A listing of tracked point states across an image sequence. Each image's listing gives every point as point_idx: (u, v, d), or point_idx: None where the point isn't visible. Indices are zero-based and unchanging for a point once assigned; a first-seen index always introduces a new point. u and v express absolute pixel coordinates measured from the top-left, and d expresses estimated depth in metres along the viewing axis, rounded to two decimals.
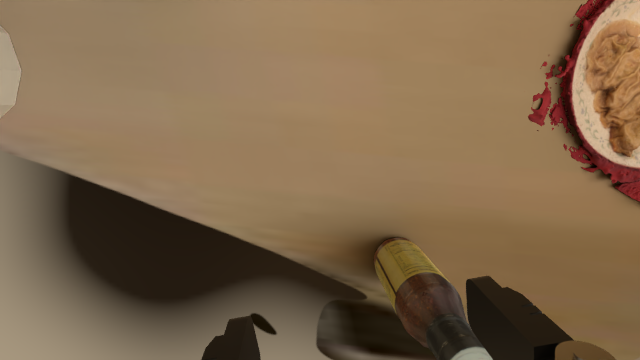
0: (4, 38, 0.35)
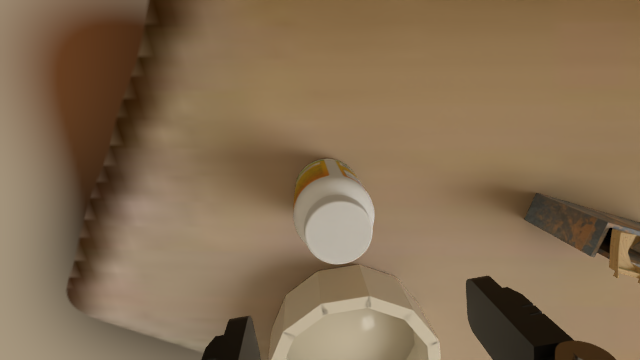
0: None
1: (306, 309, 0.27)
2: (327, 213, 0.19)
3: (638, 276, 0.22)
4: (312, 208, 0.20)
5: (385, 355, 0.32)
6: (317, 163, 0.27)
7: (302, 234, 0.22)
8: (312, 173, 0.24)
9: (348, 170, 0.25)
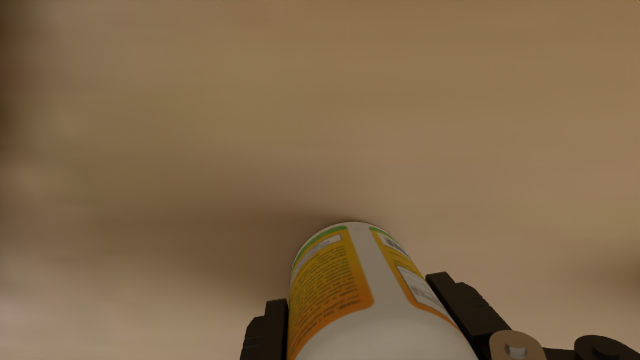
0: None
1: None
2: None
3: None
4: None
5: None
6: (335, 237, 0.13)
7: None
8: (328, 275, 0.11)
9: (403, 260, 0.12)
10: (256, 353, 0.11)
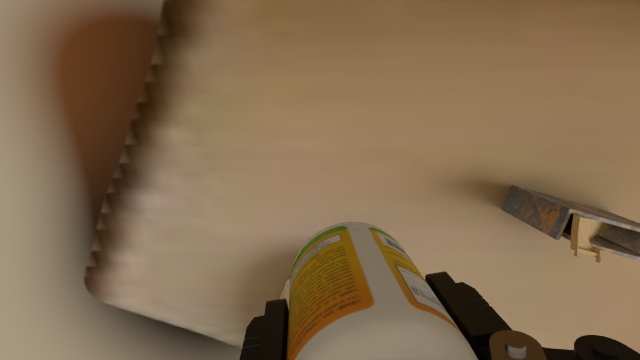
0: None
1: None
2: None
3: (596, 255, 0.25)
4: None
5: None
6: (335, 237, 0.13)
7: None
8: (328, 276, 0.11)
9: (403, 260, 0.12)
10: (256, 353, 0.11)
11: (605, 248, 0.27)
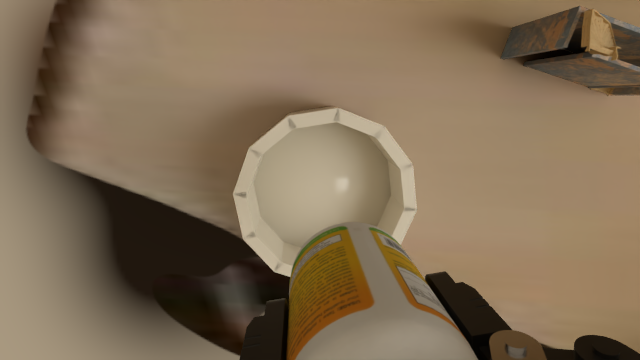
0: None
1: (273, 127, 0.26)
2: None
3: (611, 53, 0.21)
4: None
5: (361, 207, 0.31)
6: (335, 237, 0.13)
7: None
8: (328, 276, 0.11)
9: (403, 261, 0.12)
10: (256, 353, 0.11)
11: (621, 62, 0.23)
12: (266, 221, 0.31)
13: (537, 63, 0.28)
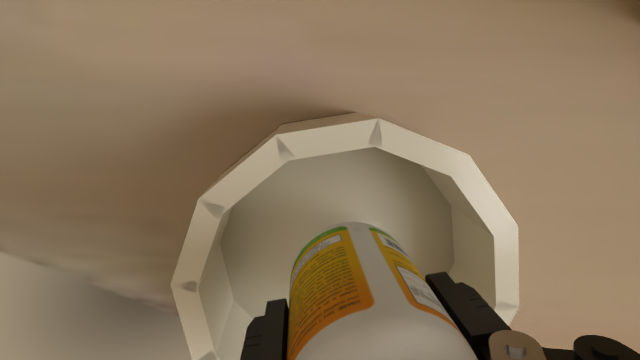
0: None
1: (248, 156, 0.13)
2: None
3: None
4: None
5: None
6: (334, 238, 0.13)
7: None
8: (328, 276, 0.11)
9: (403, 261, 0.12)
10: (256, 353, 0.11)
11: None
12: (243, 307, 0.18)
13: None
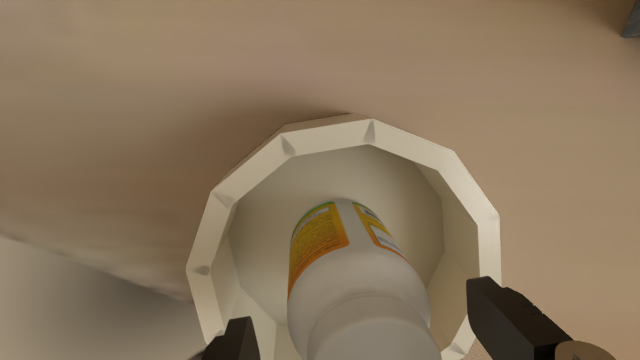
0: None
1: (255, 153, 0.14)
2: (355, 342, 0.09)
3: None
4: (323, 326, 0.10)
5: None
6: (324, 209, 0.17)
7: (304, 354, 0.12)
8: (318, 232, 0.15)
9: (376, 223, 0.16)
10: None
11: None
12: (249, 294, 0.20)
13: None
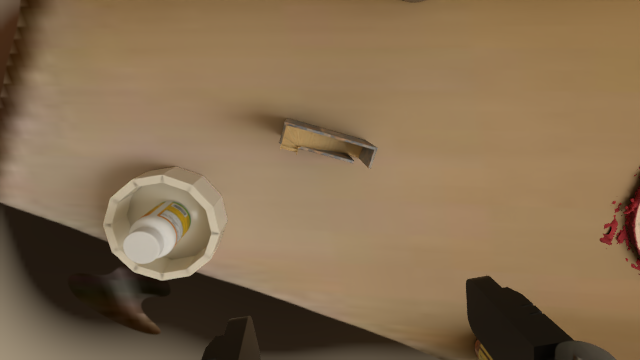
0: (221, 201, 0.47)
1: (126, 185, 0.43)
2: (133, 237, 0.38)
3: (295, 150, 0.38)
4: None
5: (200, 230, 0.48)
6: (159, 204, 0.45)
7: None
8: None
9: (172, 209, 0.44)
10: None
11: (316, 151, 0.40)
12: None
13: None
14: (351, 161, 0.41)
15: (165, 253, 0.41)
